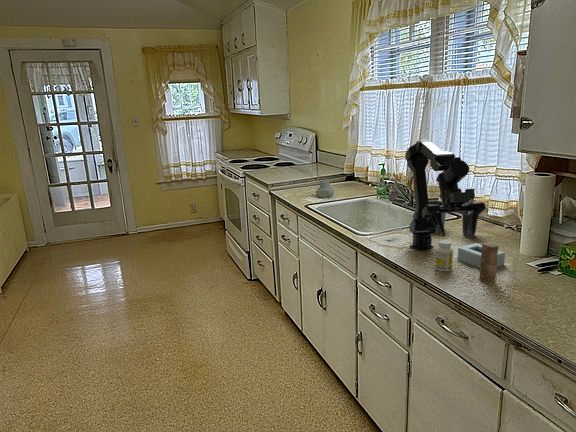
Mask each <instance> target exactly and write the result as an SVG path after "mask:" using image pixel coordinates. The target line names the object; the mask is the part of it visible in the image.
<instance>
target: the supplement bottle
mask: <svg viewBox="0 0 576 432" xmlns="http://www.w3.org/2000/svg"><path fill="white" fill-rule="evenodd" d="M435 249H436V250H435V266H434V267H435V269H436V270H438V271H440V272H449V271H452V268H453V256H454V255H453V254H454V253H453V252H454V249H453V248H452V242H451V241H450V240H446V239H441V240H439V241H438V246H437V247H436V248H435Z"/></svg>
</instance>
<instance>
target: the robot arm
mask: <svg viewBox="0 0 576 432" xmlns="http://www.w3.org/2000/svg"><path fill="white" fill-rule="evenodd" d="M404 155H405V156H404V157H405V160H406V164H407V165H406V166H407V167H408V168H409V169H410V171H411V172H412V179H413V188H414V199H415V207H416V208H415V210H414V213H413V214H412V220H411V221H410V223H409V225H408V227H409V229H408V230H409V233H410V234H412V244H410V245H409V247H410V248H412V249H416V250H418V251H420V252H423V251H427V250H430V249H433V248H434V246H433V245H432V234H435V233H436V232H435V231H436V228H437V229H438V231H439V232H438V233H439V234H440V235H441V237H444V238H445V237H446V231H445V226H444V227H443V223H442V213H446V214H449V213H462V212H466V213H467V214H468V215H467V216H466V218H467V222H468V226H469V230H470V233H471V235H473V234H474V231H475V225H476V220H477V217H478V218H479V215H481V214H482V213H483V212H484V211H486V210H487V206H486V203H485V202H483V201H477V202H471V203H470V204H469V205H467V206H462V204H465V202H470V201H469V199H474V200H475V198H476V194H475V191H474V188H467V189H465V190H464V191H462V189H461V188H459V184H458V183H460V182H461V181H462V180H463V179H464V178H465V177H466V176H467V175H468V174H469V172H470V166H469V164H468V163H466V162H465V160H462V158H461V156H456V155H455V154H454V152H451V151H444V150H442V149H441V148H439V147H438V145H435V144H434V143H433V141H432V140H431V139H420V140H417V141H416V142H415V144H413V145H411V146H410V147H408V148H407V150H406V152H405V154H404ZM429 161H430V163H429ZM428 164H429V165H430V168H431V169H432V170H433V171H434V172H440V173H438V175H437V177H436V179H435V182H438V183H437V184H438V187H439V189H438V190H439V192H440V193H439V197H438V198H439V199H440V200H441V201H442V204H443V206H442V207H440V206H439V205H438V204H429V201H430V200H429V194H428V193H429V191H428V184H427V175H426V169H427V166H428ZM477 221H478V220H477Z"/></svg>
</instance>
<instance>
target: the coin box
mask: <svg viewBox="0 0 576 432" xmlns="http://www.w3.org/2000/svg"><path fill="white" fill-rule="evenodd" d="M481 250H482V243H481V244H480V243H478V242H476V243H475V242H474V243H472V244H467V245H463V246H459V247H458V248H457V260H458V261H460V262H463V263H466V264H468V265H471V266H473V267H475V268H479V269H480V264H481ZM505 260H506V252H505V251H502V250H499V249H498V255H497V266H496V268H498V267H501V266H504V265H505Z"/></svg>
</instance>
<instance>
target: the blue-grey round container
mask: <svg viewBox="0 0 576 432" xmlns="http://www.w3.org/2000/svg"><path fill="white" fill-rule="evenodd" d="M428 201H429V204H438V205H439V206H440V207H442V206H443V204H442V200H437V199H436V200H433V199H432V200H428ZM446 216H447V213H442V223H443V227H444V228H445V223H446ZM435 233H440V232H439V231H438V229H437V228H436V231H435Z"/></svg>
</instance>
